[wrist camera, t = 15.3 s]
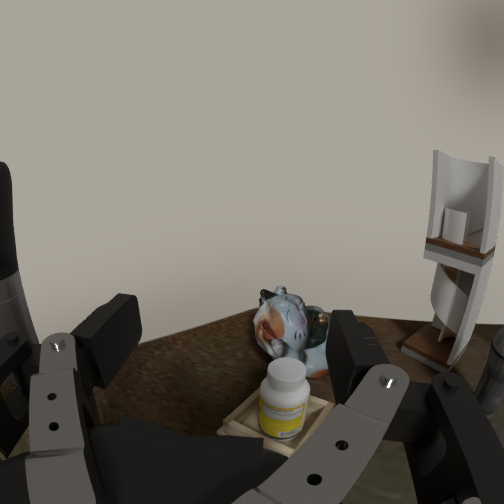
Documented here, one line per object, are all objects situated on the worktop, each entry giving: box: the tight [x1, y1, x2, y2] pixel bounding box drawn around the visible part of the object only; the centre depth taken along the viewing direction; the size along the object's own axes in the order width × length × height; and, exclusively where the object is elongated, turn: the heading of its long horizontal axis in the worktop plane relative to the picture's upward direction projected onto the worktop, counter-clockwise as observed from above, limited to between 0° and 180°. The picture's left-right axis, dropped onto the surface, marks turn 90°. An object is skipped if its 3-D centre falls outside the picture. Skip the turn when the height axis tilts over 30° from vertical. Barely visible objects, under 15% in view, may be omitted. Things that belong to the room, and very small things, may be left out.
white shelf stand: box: [401, 150, 503, 372], centre depth 38 cm, size 11×11×35 cm
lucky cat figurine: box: [253, 286, 330, 379], centre depth 43 cm, size 15×12×14 cm
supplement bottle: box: [259, 357, 310, 442], centre depth 28 cm, size 5×5×10 cm
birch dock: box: [216, 387, 334, 458], centre depth 30 cm, size 11×10×3 cm
